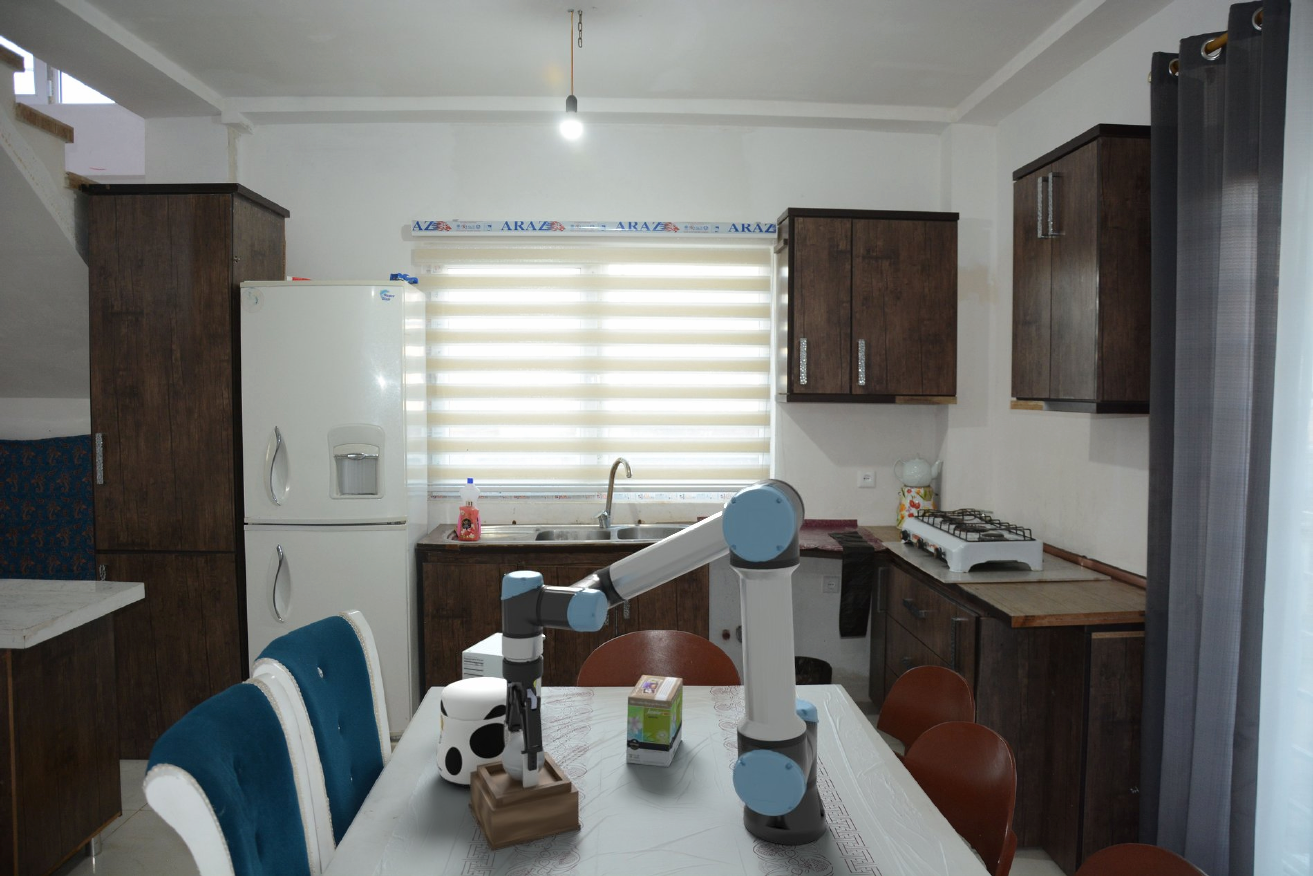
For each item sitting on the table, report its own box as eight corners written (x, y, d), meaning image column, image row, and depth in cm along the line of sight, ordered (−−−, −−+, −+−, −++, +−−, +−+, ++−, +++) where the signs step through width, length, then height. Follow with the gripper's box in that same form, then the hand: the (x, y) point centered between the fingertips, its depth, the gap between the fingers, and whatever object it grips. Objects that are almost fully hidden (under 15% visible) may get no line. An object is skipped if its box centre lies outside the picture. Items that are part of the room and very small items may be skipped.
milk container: (432, 763, 175) (432, 681, 174) (513, 751, 181) (512, 671, 180) (441, 800, 159) (440, 710, 158) (529, 786, 165) (528, 699, 164)
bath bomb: (553, 778, 152) (553, 736, 151) (517, 793, 146) (517, 749, 146) (529, 765, 158) (529, 724, 157) (493, 778, 152) (493, 736, 152)
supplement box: (510, 733, 190) (510, 657, 189) (461, 726, 194) (460, 651, 193) (543, 706, 207) (543, 636, 206) (496, 700, 211) (496, 631, 210)
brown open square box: (580, 828, 149) (580, 783, 148) (491, 851, 141) (491, 803, 141) (550, 789, 163) (550, 747, 163) (468, 807, 156) (468, 764, 156)
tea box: (671, 768, 173) (671, 700, 172) (625, 763, 175) (625, 696, 174) (682, 739, 188) (683, 676, 187) (640, 735, 190) (640, 673, 189)
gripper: (561, 669, 143) (561, 795, 144) (525, 637, 162) (525, 749, 163) (519, 676, 140) (520, 805, 141) (488, 642, 158) (489, 756, 160)
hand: (523, 775), depth 152 cm, fingers open, 8 cm apart
